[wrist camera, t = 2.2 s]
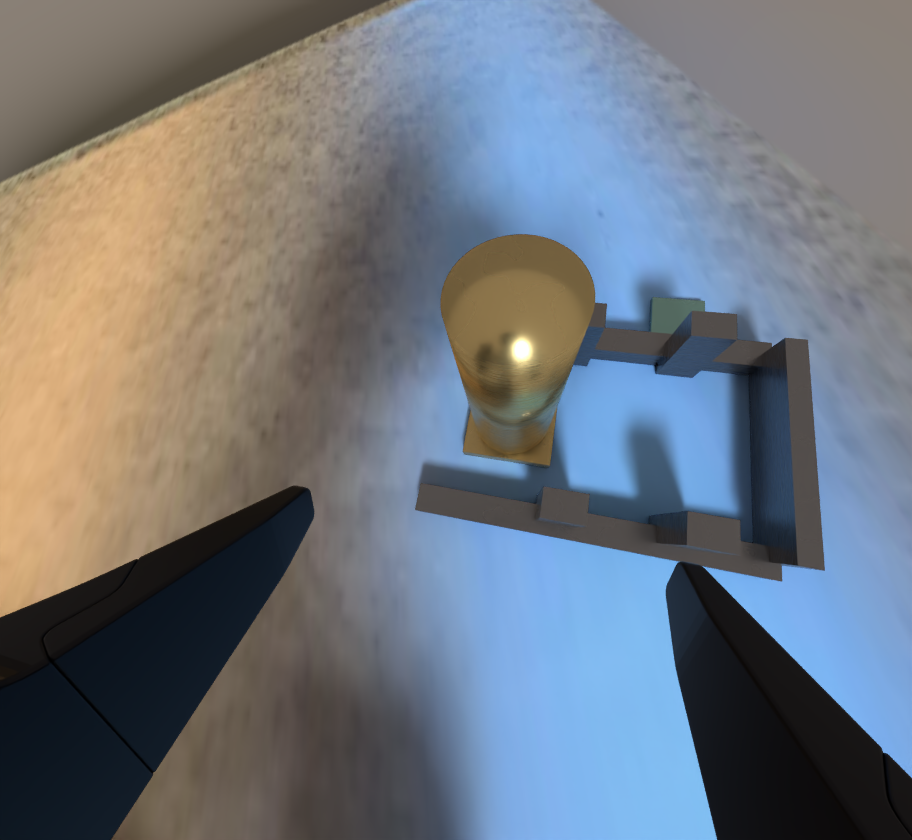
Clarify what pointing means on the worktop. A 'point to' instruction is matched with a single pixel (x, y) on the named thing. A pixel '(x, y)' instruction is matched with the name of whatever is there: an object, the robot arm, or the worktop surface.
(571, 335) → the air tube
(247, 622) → the robot arm
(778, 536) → the frame
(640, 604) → the worktop surface
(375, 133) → the worktop surface
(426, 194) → the worktop surface
